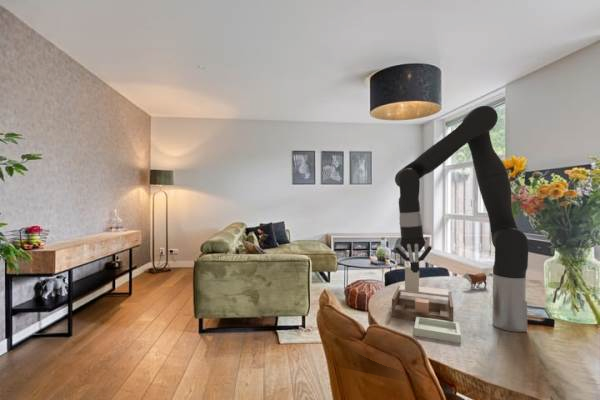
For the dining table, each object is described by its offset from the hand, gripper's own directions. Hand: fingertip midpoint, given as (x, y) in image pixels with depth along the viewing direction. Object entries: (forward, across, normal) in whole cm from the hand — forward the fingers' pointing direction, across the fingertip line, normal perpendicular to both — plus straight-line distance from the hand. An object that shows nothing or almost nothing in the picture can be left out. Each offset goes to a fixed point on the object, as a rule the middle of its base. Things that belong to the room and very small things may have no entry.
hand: (415, 272), depth 115 cm
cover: (+11, -2, -11) cm, 15 cm away
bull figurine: (+23, -24, -53) cm, 63 cm away
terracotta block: (+15, -1, +1) cm, 15 cm away
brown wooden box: (+17, -1, -5) cm, 18 cm away
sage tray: (+16, -5, +13) cm, 21 cm away
